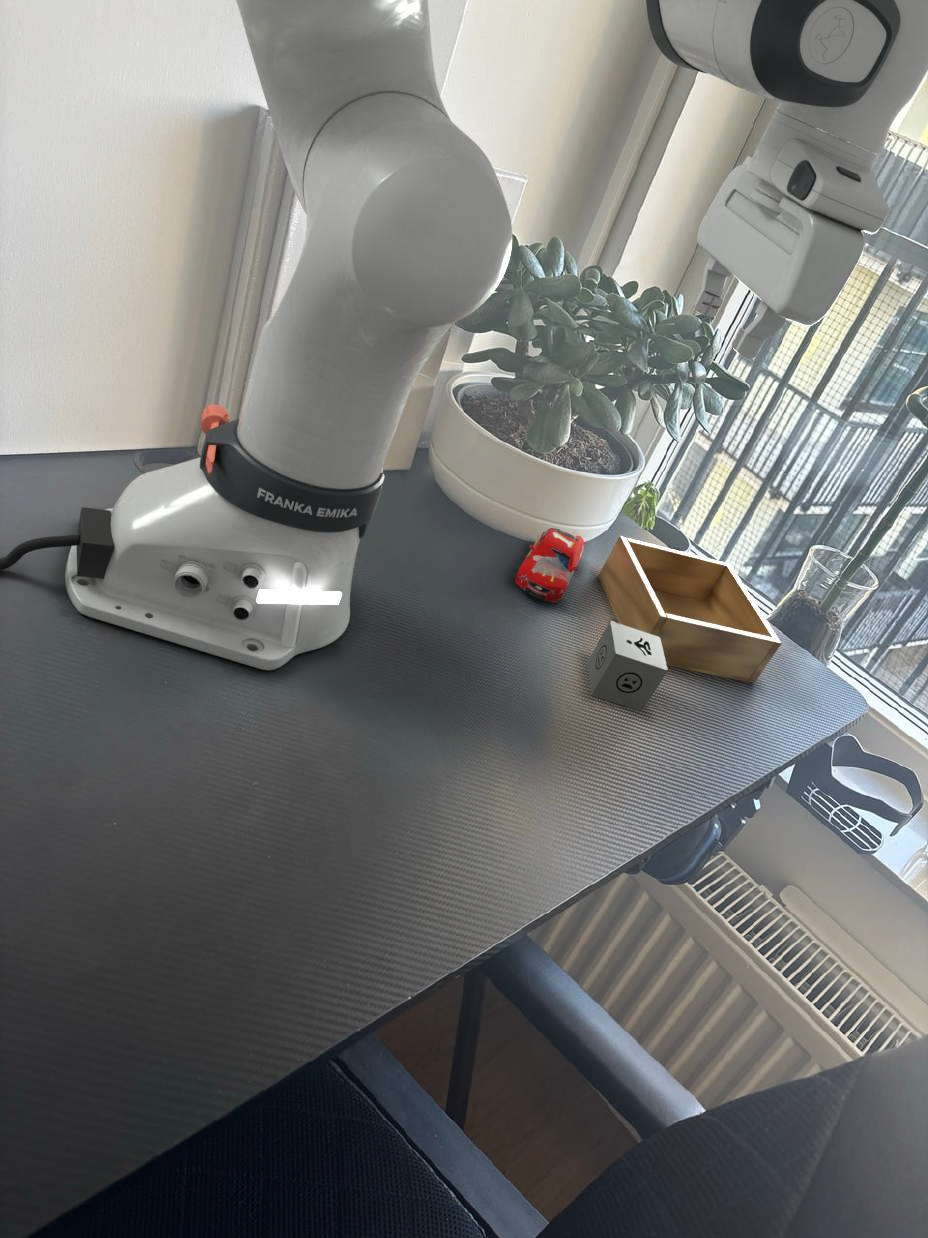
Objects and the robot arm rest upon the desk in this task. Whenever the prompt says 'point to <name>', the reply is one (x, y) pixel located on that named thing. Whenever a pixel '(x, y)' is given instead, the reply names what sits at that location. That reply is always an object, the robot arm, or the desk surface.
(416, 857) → the desk surface
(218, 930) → the desk surface
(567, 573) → the race car
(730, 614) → the crate
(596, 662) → the dice cube
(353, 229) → the robot arm
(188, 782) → the desk surface
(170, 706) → the desk surface
